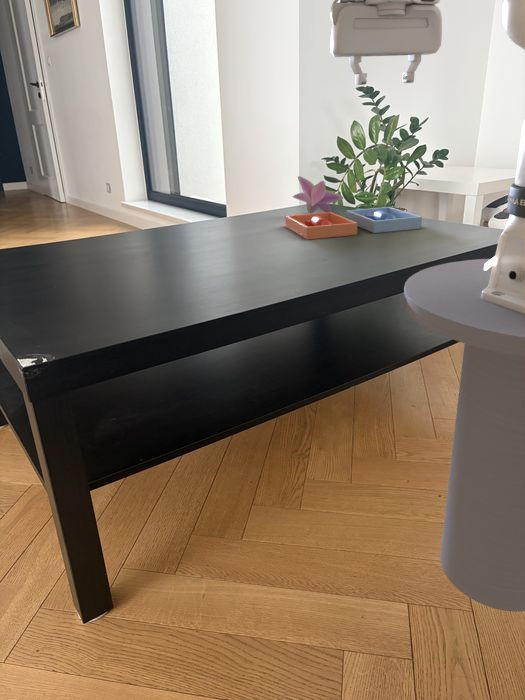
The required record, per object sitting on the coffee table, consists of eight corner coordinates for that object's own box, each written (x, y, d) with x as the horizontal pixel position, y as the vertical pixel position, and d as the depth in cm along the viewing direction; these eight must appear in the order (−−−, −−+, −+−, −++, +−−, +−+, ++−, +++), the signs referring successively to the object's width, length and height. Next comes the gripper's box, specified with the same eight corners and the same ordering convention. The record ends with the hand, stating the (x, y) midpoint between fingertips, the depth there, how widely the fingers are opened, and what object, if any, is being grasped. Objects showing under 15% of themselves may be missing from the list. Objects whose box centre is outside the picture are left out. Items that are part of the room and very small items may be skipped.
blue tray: (421, 228, 119) (422, 216, 118) (373, 233, 117) (374, 221, 116) (389, 217, 133) (389, 206, 132) (345, 221, 130) (346, 210, 129)
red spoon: (337, 232, 117) (337, 220, 116) (319, 233, 116) (319, 222, 115) (318, 223, 127) (318, 212, 126) (302, 224, 126) (302, 214, 125)
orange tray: (357, 234, 116) (357, 222, 115) (306, 239, 113) (306, 227, 112) (330, 222, 129) (330, 211, 128) (285, 226, 127) (285, 215, 126)
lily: (347, 223, 133) (351, 185, 134) (309, 209, 126) (314, 169, 127) (315, 232, 143) (319, 196, 143) (278, 219, 136) (283, 182, 137)
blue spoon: (401, 226, 120) (402, 214, 119) (384, 227, 119) (385, 216, 118) (378, 217, 130) (378, 207, 129) (362, 219, 129) (363, 208, 128)
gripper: (338, -10, 90) (338, 84, 95) (449, -9, 94) (443, 80, 100) (324, -1, 95) (324, 87, 101) (430, -2, 100) (425, 83, 105)
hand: (384, 83), depth 100 cm, fingers open, 8 cm apart
